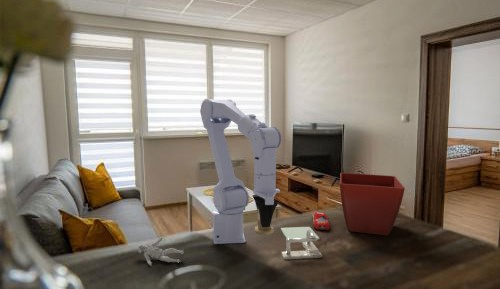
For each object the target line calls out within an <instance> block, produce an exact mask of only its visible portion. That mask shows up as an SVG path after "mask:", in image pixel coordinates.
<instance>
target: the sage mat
mask: <svg viewBox="0 0 500 289" xmlns="http://www.w3.org/2000/svg"><path fill="white" fill-rule="evenodd" d="M307 230H310V231H311V232H312V233H313V234H314V236H315V237H316V238H317V241H318V240H320V237H319V236H318V234H317V233H315V231H314V230H313V229H312V228H311V227H310V226H298V227H297V226H295V227H294V226H293V227H292V226H291V227H290V226H289V227H280V231H281V232H282V234H283V236H284V237H285V239H286V240H287V239H294V238H306V233H307Z"/></svg>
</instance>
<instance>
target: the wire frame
mask: <svg viewBox="0 0 500 289" xmlns="http://www.w3.org/2000/svg"><path fill="white" fill-rule="evenodd" d="M317 241H318V240H317V238H316V237H315V236H314V234H313V233H312V232H311V231H310V230H307V233H306V238H294V239H286V240H285V243H286V244H285V246H286V248H285V250H284V251H281V256H282V258H283V260H295V259H296V260H297V259H299V260H302V259H318V258H320V259H321V258H323V254H322V252H321V251H320V250H319V248H317V246H316V245H315V243H314V242H317ZM292 243H301V245H302V247H303V248H304V250H291V246H292Z"/></svg>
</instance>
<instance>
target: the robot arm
mask: <svg viewBox="0 0 500 289" xmlns="http://www.w3.org/2000/svg"><path fill="white" fill-rule="evenodd" d="M199 111H200V117H201V121H202V124H203V128H205V129H206V132H207V137H208V140H209V144H210V149H211V153H212V158H213V161H214V166H215V169H216V174H217V177H218V182H217V183H216V185H214V187H213V189H212V193H213V204H214V207H215V209H216V210H214V211H213V214H212V215H213V228H212V230H211V231H212V233H211V234H212V236H213V244H214V245H218V244H219V245H223V244H243V243H246V237H245V234H244V211H246V207H248V206H249V204H250V194H249V192H248V189H246V185H245V184H244V181H242V180H241V179H239V178H238V177H236V175H235V170H234V166H233V163H232V158H231V154H230V151H229V146H228V143H227V139H226V136H225V130H226V129H227V128H229V126H230V124H231V122H233V123H234V124H236V125H237V130H238V132H240V133H241V134H242V135H243V136H244V137H246V139H248V140H249V144H250V148H251V150H252V152H251V153H252V156H253V163H254V164H253V165H254V166H253V170H254V171H253V190H252V191H253V193H252V194H253V195H252V198H253V200H254V203H255V206H256V211H257V212H256V213H257V214H258V209H259V214H260V221H261V226H262V227H270V224H271V225H272V219H273V215H274V213H275V210H276V208H277V206H278V204H279V202H278V200H275V196H276V195H277V194H280V193H281V190H280V189H279V188H276V186H277V149H278V148H279V147H280V146H281V143H282V134H281V132H280V129H278V127H277V126H270V127H269V126H267V125H266V123H265V122H262V121H260V120H259V119H258V118H257V116H256V115H255V114H253V113H252V114H251V113H250V114H245V113H244V112H243V111H242V110H241V109H240V108H239V107H237V104H236V102H235V101H233V100H232V99H215V98H214V99H210V98H205V99H204V100H202V103H201V104H200V110H199Z"/></svg>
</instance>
